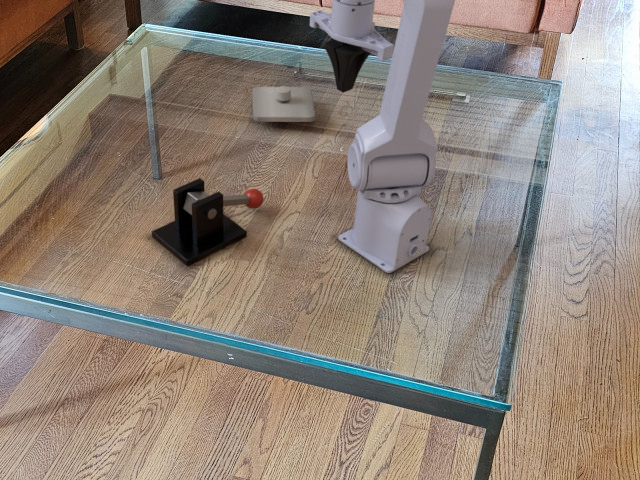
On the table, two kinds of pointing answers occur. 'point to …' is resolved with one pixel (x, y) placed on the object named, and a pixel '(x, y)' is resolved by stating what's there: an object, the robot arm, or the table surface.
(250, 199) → the lever
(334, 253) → the table surface
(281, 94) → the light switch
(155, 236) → the bracket
